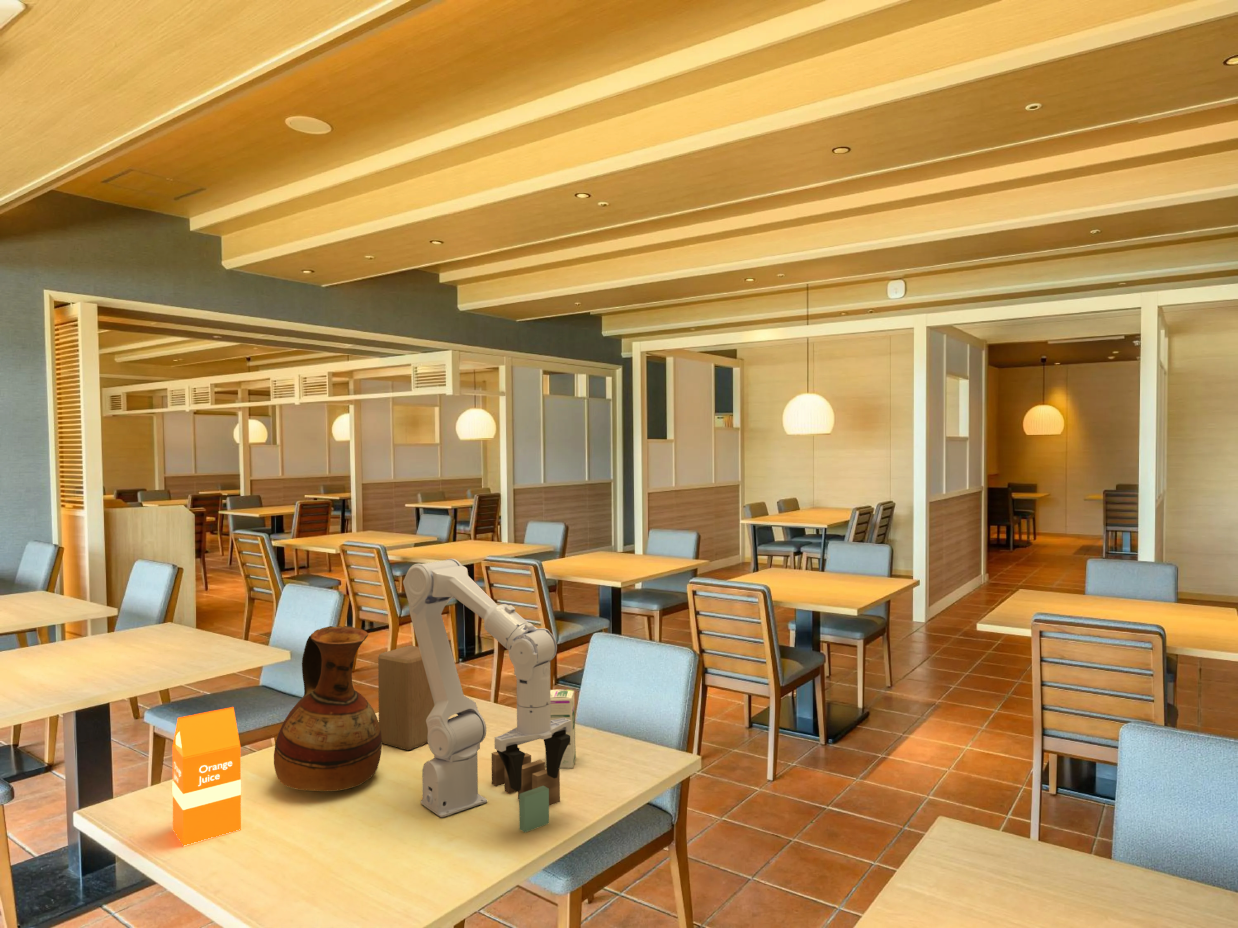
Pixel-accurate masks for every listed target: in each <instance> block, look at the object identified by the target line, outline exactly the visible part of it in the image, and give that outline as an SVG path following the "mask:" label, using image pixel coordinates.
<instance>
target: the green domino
mask: <svg viewBox="0 0 1238 928" xmlns="http://www.w3.org/2000/svg"><path fill="white" fill-rule="evenodd" d="M518 801H519V803H518V805H519V807H518V808H519V810H518V813H519V814H518V815H519V816H518V817H519V823H518V824H519V825H518V827H519V828H518V829H519V830H520V831H521V832H523V833H527V832H530V831H533V830H536V829H538V828H541V827H543V826H546V825H548V823H549V824H550V806H549V788H547V787H545V786H541V787H538V788H535V789H532V790H529V791H526V792H523V793H521V794H519V799H518Z"/></svg>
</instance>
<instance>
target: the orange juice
mask: <svg viewBox="0 0 1238 928" xmlns="http://www.w3.org/2000/svg"><path fill="white" fill-rule="evenodd" d="M236 719H237V718H236V713H235V708H234V706H231V707H225V708H220V709H216V710H210V711H205V712H200V713H194V714H192V715H185V716H180V717H177V721H176V725H175V726H176V727H175V730H174V731H175V732H174V736H173V737H174V738H173V743H172V783H171V785H172V791H171V793H172V795H171V796H172V831H173V830H174V831H175V833H176V834H177V836H176V837H178V838H179V839H180V841H181V842H180V841H179V842H180V844H181V843H182V844H183V846H184V845H187V844H191V843H194V842H198V841H201V840H204V839H208V838H211V837H216V836H219V835H222V834H226V833H229V832H233V831H236V830H239V829H240V830H239V831H241V830H242V813H241V812H242V811H241V810H242V799H241V798H242V779H241V778H242V777H241V775H242V774H241V770H242V769H241V762H242V761H241V742H240V737H239V731H238V725H237V720H236ZM174 831H173V832H174ZM236 832H237V831H236ZM175 833H174V834H175ZM233 833H234V832H233ZM176 834H175V835H176ZM229 834H230V833H229ZM226 835H227V834H226ZM222 836H223V835H222ZM219 837H220V836H219ZM178 838H177V839H178ZM216 838H217V837H216ZM179 839H178V840H179ZM182 844H181V845H182ZM183 846H182V847H183Z"/></svg>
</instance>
